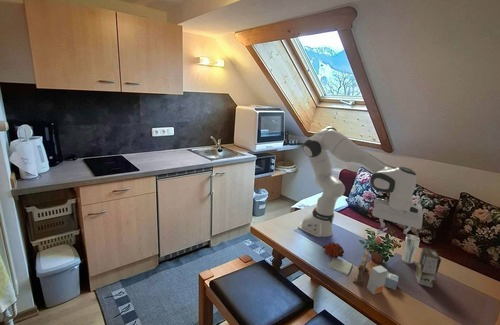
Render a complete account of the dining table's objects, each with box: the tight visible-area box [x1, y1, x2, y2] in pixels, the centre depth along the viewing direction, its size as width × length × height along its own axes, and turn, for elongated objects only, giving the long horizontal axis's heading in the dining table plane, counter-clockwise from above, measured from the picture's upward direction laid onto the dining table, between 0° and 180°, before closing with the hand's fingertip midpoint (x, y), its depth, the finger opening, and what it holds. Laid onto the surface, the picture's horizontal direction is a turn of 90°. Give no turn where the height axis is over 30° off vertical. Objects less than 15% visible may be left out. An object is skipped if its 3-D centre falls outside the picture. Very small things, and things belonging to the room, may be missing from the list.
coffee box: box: [414, 247, 442, 288], centre depth 134 cm, size 9×6×16 cm
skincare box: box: [366, 265, 389, 295], centre depth 125 cm, size 6×4×12 cm
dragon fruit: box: [322, 241, 345, 259], centre depth 149 cm, size 8×8×12 cm
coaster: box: [328, 256, 353, 276], centre depth 142 cm, size 10×10×1 cm
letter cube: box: [384, 271, 400, 291], centre depth 130 cm, size 5×5×5 cm
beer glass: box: [400, 233, 421, 265], centre depth 150 cm, size 7×7×15 cm
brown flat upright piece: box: [353, 248, 370, 287], centre depth 134 cm, size 16×4×11 cm, turn 148°
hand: (393, 230), depth 123 cm, fingers open, 8 cm apart
